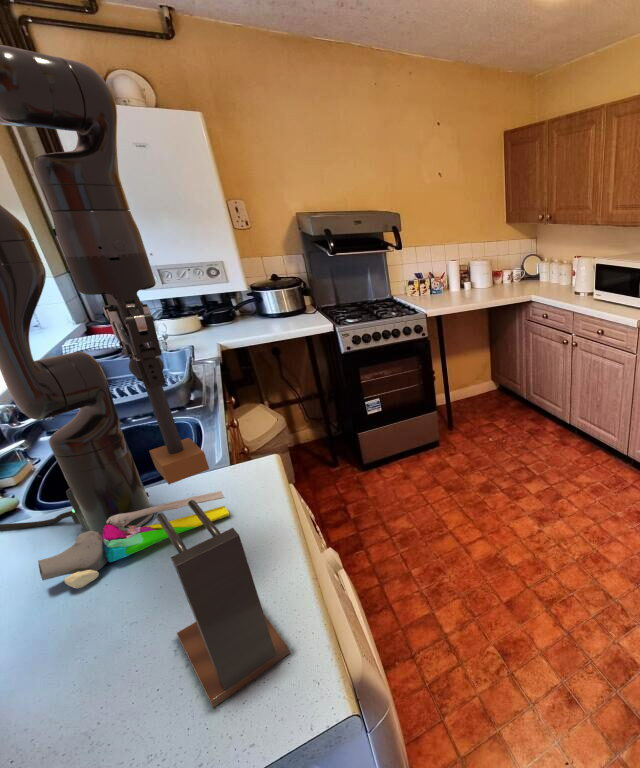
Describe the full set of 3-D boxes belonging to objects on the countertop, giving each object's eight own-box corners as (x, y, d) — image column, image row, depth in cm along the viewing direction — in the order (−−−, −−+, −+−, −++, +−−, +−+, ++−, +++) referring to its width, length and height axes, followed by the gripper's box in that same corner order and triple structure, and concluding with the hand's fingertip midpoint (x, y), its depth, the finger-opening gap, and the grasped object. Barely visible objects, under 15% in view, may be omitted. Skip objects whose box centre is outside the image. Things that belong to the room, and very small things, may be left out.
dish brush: (155, 468, 65) (112, 353, 58) (194, 454, 68) (158, 344, 62) (168, 484, 60) (123, 363, 54) (209, 469, 64) (172, 353, 57)
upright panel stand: (178, 637, 60) (127, 516, 53) (248, 596, 67) (211, 482, 59) (213, 708, 51) (158, 574, 44) (290, 653, 58) (253, 528, 50)
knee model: (232, 540, 85) (48, 609, 67) (218, 510, 89) (40, 567, 70) (235, 511, 81) (38, 576, 62) (220, 480, 84) (29, 532, 66)
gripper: (56, 251, 55) (106, 379, 61) (72, 255, 46) (128, 404, 52) (131, 247, 60) (170, 365, 66) (159, 250, 51) (200, 386, 58)
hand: (151, 382), depth 59 cm, fingers closed on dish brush, 3 cm apart
